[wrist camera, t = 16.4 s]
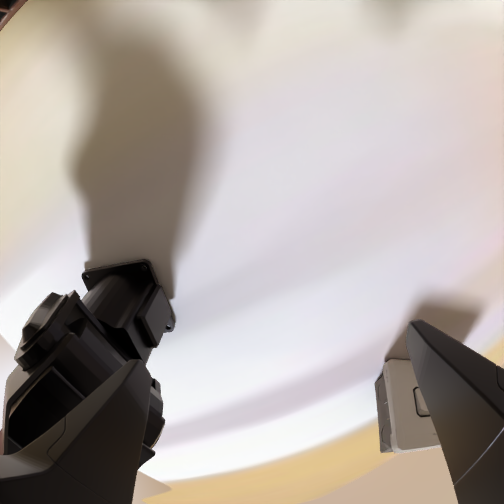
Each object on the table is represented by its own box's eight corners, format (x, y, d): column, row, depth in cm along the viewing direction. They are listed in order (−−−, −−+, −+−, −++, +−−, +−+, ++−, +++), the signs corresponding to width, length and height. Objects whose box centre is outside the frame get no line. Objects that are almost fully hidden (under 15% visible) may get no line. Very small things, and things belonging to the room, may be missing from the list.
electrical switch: (451, 360, 26) (479, 430, 18) (425, 389, 28) (445, 454, 20) (385, 355, 25) (408, 441, 17) (360, 386, 28) (374, 465, 20)
